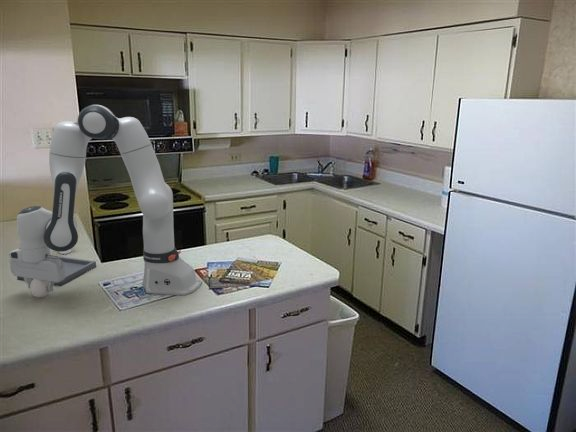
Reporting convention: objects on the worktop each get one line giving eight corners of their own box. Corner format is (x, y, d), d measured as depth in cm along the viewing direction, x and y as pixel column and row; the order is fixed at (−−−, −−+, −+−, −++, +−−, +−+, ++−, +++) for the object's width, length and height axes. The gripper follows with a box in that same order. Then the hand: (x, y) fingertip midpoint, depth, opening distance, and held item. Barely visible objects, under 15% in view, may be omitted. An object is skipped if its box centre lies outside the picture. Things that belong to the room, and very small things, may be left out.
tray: (96, 266, 183) (95, 261, 182) (60, 286, 164) (60, 280, 163) (56, 261, 188) (55, 255, 187) (17, 279, 169) (16, 273, 168)
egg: (47, 291, 160) (44, 271, 158) (55, 296, 156) (52, 275, 154) (28, 296, 155) (25, 276, 153) (36, 302, 151) (33, 281, 149)
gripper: (67, 253, 152) (72, 289, 155) (19, 246, 157) (24, 282, 160) (54, 259, 146) (58, 297, 150) (4, 252, 151) (10, 289, 155)
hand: (40, 289), depth 155 cm, fingers closed on egg, 6 cm apart
